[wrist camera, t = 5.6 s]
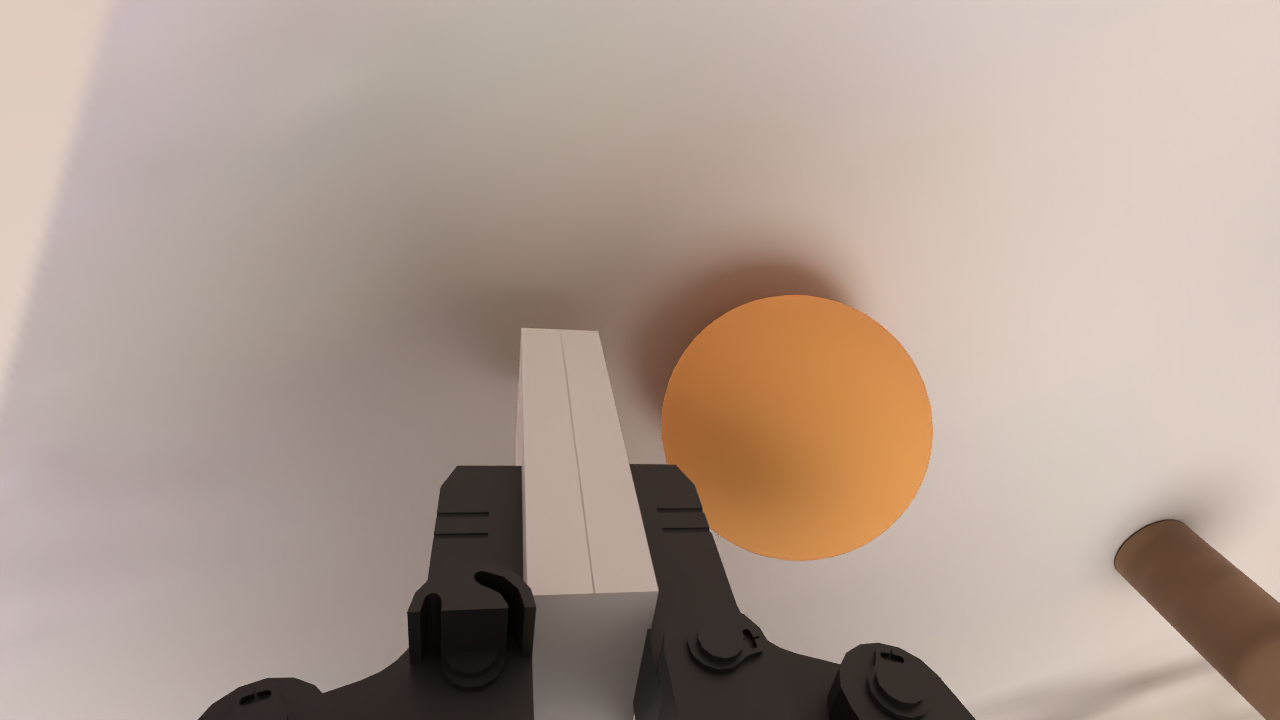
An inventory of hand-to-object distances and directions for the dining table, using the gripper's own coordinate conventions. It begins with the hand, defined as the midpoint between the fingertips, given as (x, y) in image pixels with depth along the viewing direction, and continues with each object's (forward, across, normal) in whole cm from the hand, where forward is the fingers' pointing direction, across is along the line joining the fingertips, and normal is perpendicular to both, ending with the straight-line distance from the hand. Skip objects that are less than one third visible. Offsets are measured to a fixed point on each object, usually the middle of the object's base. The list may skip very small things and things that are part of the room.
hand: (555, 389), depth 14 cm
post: (+2, +21, -7) cm, 22 cm away
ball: (-1, +5, 0) cm, 5 cm away
